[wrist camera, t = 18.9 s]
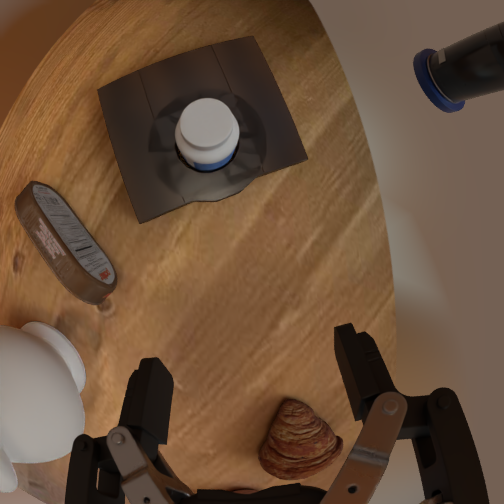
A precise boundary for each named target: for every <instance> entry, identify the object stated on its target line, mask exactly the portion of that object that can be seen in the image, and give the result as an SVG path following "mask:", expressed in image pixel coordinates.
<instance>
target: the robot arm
mask: <svg viewBox="0 0 504 504" xmlns="http://www.w3.org/2000/svg"><path fill="white" fill-rule="evenodd" d="M426 68H427V72H428V74H429V77H430V79H431V81H432V83H433V85H434V86H435V88H436V89H437V91H438V92H439V93H440V94H441V95H442V96H443V97H444V98H445V99H446V100H447V101H449V102H451V103H454V104H456V103H460V102H461V101H464V100H468V99H472V98H475V97H479V96H483V95H486V94H490V93H494V92H498V91H502V90H504V22H501V23H499V24H497V25H494V26H492V27H490V28H487V29H485V30H483V31H480V32H478V33H476V34H473V35H471V36H469V37H467V38H465V39H463V40H460V41H458V42H456V43H454V44H452V45H450V46H448V47H446V48H443V49H441V50H439V51H438V52H436V53H434V54H431V55H429V56H428V57H427V59H426ZM334 350H335V356H336V360H337V363H338V366H339V369H340V372H341V375H342V379H343V382H344V385H345V388H346V392H347V395H348V398H349V401H350V405H351V408H352V412H353V415H354V418H355V421H358V420H362V422H363V428H362V430H361V432H360V434H359V436H358V438H357V440H356V442H355V444H354V446H353V448H352V450H351V452H350V453H349V455H348V457H347V459H346V461H345V463H344V464H343V466H342V468H341V470H340V472H339V473H338V475H337V477H336V478H335V480H334V482H333V483H332V485H331V487H330V488H329V490H328V491H325V490H323V489H320V488H317V487H313V486H303V485H301V484H300V483H295V484H288V485H281V486H273V487H270V488H267V489H264V490H261V491H258V492H254V493H251V494H240V493H235V492H230V491H225V490H206V489H197V493H196V494H194V493H193V492H192V491H191V490H190V488H189V487H188V486H187V485H185V484H184V483H183V482H182V481H181V480H180V479H179V478H178V477H177V476H176V474H175V473H174V472H173V470H172V469H171V467H170V466H169V465H168V463H167V462H166V460H165V459H164V457H163V456H162V454H161V453H160V451H159V450H158V444H165V445H167V437H168V428H169V419H170V411H171V402H172V395H173V387H174V382H173V378H172V375H171V374H170V372H169V371H168V370H167V368H166V367H165V366H164V365H163V363H162V362H161V361H160V359H159V358H157V357H154V358H143V359H142V360H141V361H140V365H139V369H138V370H134V372H133V373H132V375H131V377H130V378H129V381H128V385H127V390H126V393H125V398H124V402H123V406H122V410H121V415H120V420H119V424H118V426H117V427H114V428H113V429H111V430H110V431H109V433H108V435H107V436H103V437H98V438H94V439H93V438H91V437H90V436H88V435H86V434H81V435H79V436H77V437H76V438H75V440H74V442H73V446H72V451H71V457H70V463H69V470H68V477H67V485H66V495H65V504H125V495H126V496H127V498H128V500H129V502H130V503H131V504H368V503H369V501H370V499H371V497H372V495H373V494H374V491H375V490H376V487H377V486H378V484H379V482H380V480H381V478H382V476H383V474H384V472H385V470H386V467H387V465H388V462H389V457H390V454H391V452H392V449H393V447H394V444H395V442H396V440H400V439H411V440H412V444H413V447H414V451H415V455H416V459H417V463H418V467H419V472H420V476H421V481H422V486H423V490H424V496H425V500H424V501H422V502H421V503H420V504H489V499H488V494H487V489H486V484H485V480H484V476H483V472H482V468H481V465H480V460H479V457H478V454H477V451H476V447H475V444H474V441H473V438H472V435H471V432H470V429H469V426H468V423H467V421H466V418H465V415H464V413H463V410H462V408H461V405H460V403H459V400H458V398H457V395H456V394H455V392H454V391H453V390H451V389H449V388H438V389H436V390H434V391H433V392H432V393H431V394H430V395H425V396H414V397H410V396H406V395H403V394H401V393H400V392H399V391H398V390H397V389H396V388H395V386H394V384H393V382H392V379H391V377H390V375H389V372H388V370H387V368H386V365H385V363H384V361H383V359H382V356H381V354H380V352H379V351H378V347H377V345H376V343H375V341H374V339H373V338H372V337H371V336H370V335H369V334H367V333H366V332H365V331H364V332H361V333H357V334H356V331H355V329H354V327H353V325H352V323H348V324H344V325H340V326H336V327H334ZM98 468H100V471H99V481H98V490H97V488H96V482H97V472H98Z"/></svg>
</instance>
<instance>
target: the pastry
mask: <svg viewBox="0 0 504 504" xmlns="http://www.w3.org/2000/svg"><path fill="white" fill-rule="evenodd" d="M342 449H343V440H342V438H341V437H339V436H335V434H334V432H333V431H332V430H331V428H330V427H329V426H328V424H327V423H326V422H324V421H321V419H320V418H318V417H316V416H315V414H314V411H313V410H312V408H310V407H309V406H308V405H306V404H304V403H303V402H300V401H297V400H295V399H294V400H293V399H287V400H285V401H284V403H283V404H282V405H281V406H280V409H279V412H278V415H277V417H276V419H275V420H274V422H273V423H272V426H271V428H270V430H269V434H268V438H267V440H266V442H265V443H264V444H263V446H262V447H261V449H260V451H259V456H258V459H259V461H260V464H261V466H262V468H263V469H264V470H265V471H266V472H268V473H269V474H271V475H273V476H276V477H277V478H279V479H283V480H298V479H305V478H308V477H309V476H312V475H315V474H317V473H318V472H320V471H322V470H324V469H325V468H327V467H328V466H329V465H330V464H332V463H333V462H334V461H335V460H336V459H337V457H338V456H339V455H340V454H341V451H342Z"/></svg>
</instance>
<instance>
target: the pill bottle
mask: <svg viewBox="0 0 504 504" xmlns="http://www.w3.org/2000/svg"><path fill="white" fill-rule="evenodd" d="M175 139H176V143H177V146H178V148H179V150H180V152H181V154H182V156H183V157H184V159H185V161H186V162H187V164H188V165H189V166H190V167H191V168H192V169H194V170H196V171H198V172H211V173H212V172H215V171H217V170H220V169H222V168H224V167H225V166H226V165H227V164H228V163H229V161H230V160H231V158H232V155H233V153H234V150H235V148H236V145H237V142H238V139H239V126H238V123H237V120H236V119H235V117H234V115H233V114H232V113H231V111H230V109H229V108H228V107H227V106H226V105H225V104H224V103H223V102H221V101H219V100H216V99H212V98H204V99H199V100H196V101H194V102H192V103H191V104H189V105H188V106H187V107H186V108H185V109H184V111H183V112H182V114H181V117H180V119H179V121H178V123H177V126H176V129H175Z"/></svg>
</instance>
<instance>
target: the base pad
mask: <svg viewBox="0 0 504 504" xmlns="http://www.w3.org/2000/svg"><path fill="white" fill-rule="evenodd" d="M97 91H98V95H99V99H100V103H101V107H102V111H103V115H104V119H105V122H106V126H107V130H108V133H109V137H110V140H111V143H112V147H113V150H114V153H115V156H116V159H117V163H118V166H119V169H120V172H121V175H122V178H123V181H124V183H125V186H126V189H127V192H128V195H129V198H130V200H131V203H132V206H133V208H134V211H135V214H136V216H137V219H138V221H139V224H142V223H145V222H148V221H150V220H153V219H155V218H157V217H159V216H162V215H164V214H166V213H168V212H171V211H173V210H176V209H178V208H180V207H183V206H185V205H187V204H190V203H192V202H217V201H220V200H222V199H225V198H227V197H230V196H233V195H235V194H238V193H239V192H241V191H242V190H243V189H244V188H245V187H246V186H247V185H249V184H250V183H251V182H252V181H253V180H254V179H255V178H258V177H260V176H263V175H266V174H269V173H272V172H275V171H278V170H281V169H284V168H286V167H290V166H293V165H296V164H299V163H301V162H303V161H306V160H308V157H307V154H306V152H305V149H304V147H303V144H302V141H301V139H300V136H299V134H298V131H297V129H296V126H295V124H294V122H293V119H292V117H291V114H290V112H289V110H288V107H287V105H286V103H285V101H284V98H283V96H282V94H281V92H280V89H279V87H278V85H277V83H276V81H275V79H274V76H273V74H272V72H271V70H270V68H269V66H268V64H267V62H266V60H265V58H264V56H263V54H262V52H261V50H260V48H259V46H258V44H257V42H256V40H255V38H254V36H248V37H243V38H238V39H234V40H229V41H225V42H221V43H217V44H213V45H209V46H205V47H202V48H198V49H195V50H191V51H188V52H185V53H182V54H179V55H176V56H173V57H170V58H167V59H165V60H162V61H159V62H157V63H154V64H151V65H149V66H146V67H144V68H142V69H139V70H137V71H135V72H132V73H130V74H128V75H126V76H124V77H121V78H119V79H117V80H115V81H113V82H111V83H109V84H107V85H105V86H103V87H101V88H99V89H98V90H97ZM204 98H212V99H216V100H219V101H221V102H223V103H224V104H225V105H226V106H227V107H228V108H229V109H230V111H231V113H232V114H233V115H234V117H235V119H236V120H237V123H238V126H239V139H238V142H237V145H236V155H235V157H234V159H233V160H232V161H231V162H230V163H229V164H228V165H227V166H226V167H225V168H223V169H220V170H217V171H215V172H212V173H211V172H197V171H195V170H192V169H190V168H188V167H187V166H186V165H185V164H184V163H183V162H182V161H181V160H180V157H179V154H178V146H177V143H176V139H175V129H176V126H177V123H178V121H179V119H180V117H181V114H182V112H183V111H184V109H185V108H186V107H187V106H188V105H189V104H191V103H192V102H194V101H196V100H199V99H204Z"/></svg>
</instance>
